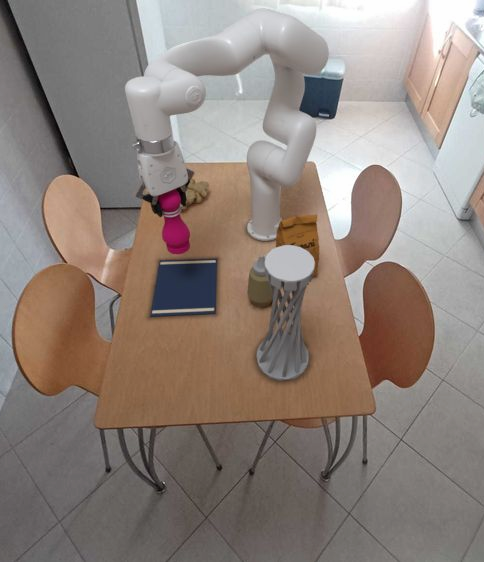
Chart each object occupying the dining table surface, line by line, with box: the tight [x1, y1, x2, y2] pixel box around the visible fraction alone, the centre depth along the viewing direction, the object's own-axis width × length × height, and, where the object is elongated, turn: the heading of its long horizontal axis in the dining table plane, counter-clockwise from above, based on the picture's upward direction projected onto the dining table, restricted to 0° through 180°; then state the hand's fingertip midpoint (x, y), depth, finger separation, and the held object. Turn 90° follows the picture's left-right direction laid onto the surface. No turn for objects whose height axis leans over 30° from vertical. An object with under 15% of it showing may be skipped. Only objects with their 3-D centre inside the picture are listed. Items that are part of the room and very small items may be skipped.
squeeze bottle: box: [246, 253, 273, 308], centre depth 107 cm, size 8×8×18 cm
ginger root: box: [180, 178, 210, 211], centre depth 143 cm, size 16×16×8 cm
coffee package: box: [275, 214, 320, 277], centre depth 113 cm, size 10×12×22 cm
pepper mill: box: [157, 189, 191, 256], centre depth 99 cm, size 7×7×20 cm
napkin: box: [149, 257, 218, 318], centre depth 117 cm, size 18×22×1 cm
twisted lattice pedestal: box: [255, 245, 315, 382], centre depth 88 cm, size 14×13×35 cm
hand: (170, 208), depth 97 cm, fingers closed on pepper mill, 6 cm apart
